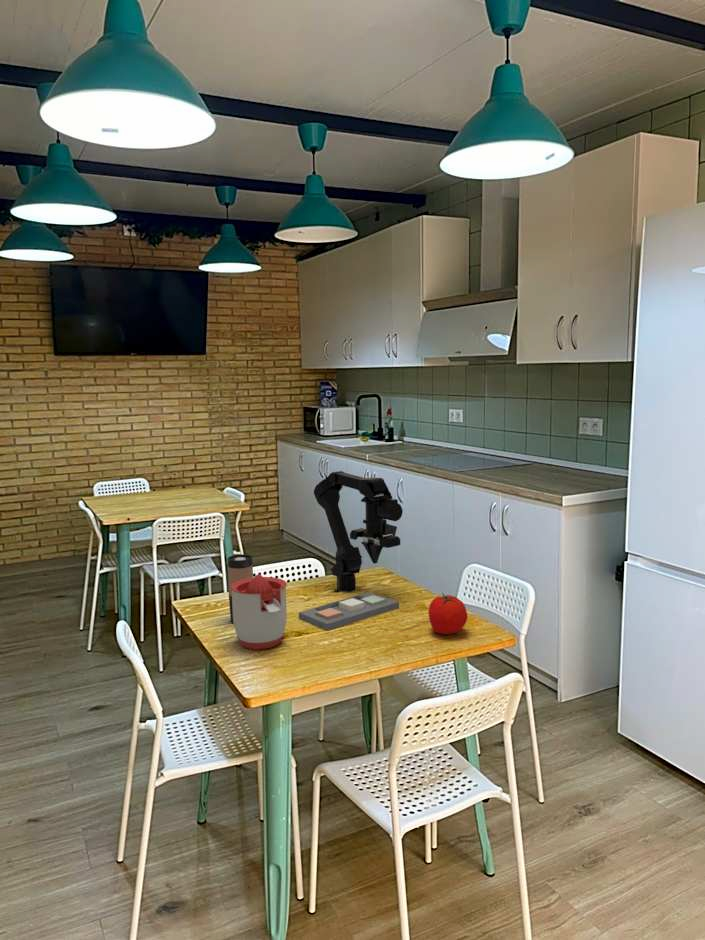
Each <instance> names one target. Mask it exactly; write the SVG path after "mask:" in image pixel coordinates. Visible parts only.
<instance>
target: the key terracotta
mask: <svg viewBox="0 0 705 940" xmlns="http://www.w3.org/2000/svg"><path fill="white" fill-rule="evenodd" d="M316 615H317V616H319V617H322V618H324V619H327V620H328V619H332V618H335V617H338V616H342V612H340V611H338V610H335V609H332V608H328V609H325V610H321V611H318V612H316Z"/></svg>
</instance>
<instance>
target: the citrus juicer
mask: <svg viewBox="0 0 705 940" xmlns="http://www.w3.org/2000/svg"><path fill="white" fill-rule="evenodd" d="M287 586H288V584H287V581H286V580H284V579H282V578H279V577H271V576H263V575H261V574H260V573H258V574H256V575H255V576H253V578H247V579H242V580H239V581H237V582H235V583H233V584H232V585H231V589H232V608H233V623H234V624H233V623H232V624H233V626H234V627H233V628H234V631H235V633H236V637H237V640H238V641H239V644H240V645H241V646H242V647H244V648H246V649H250V650H252V651H258V650H266V649H270V648H273V647H276V646H278V645H280V644H281V642H282V640H283V637H284V636H285V630H286V627H287V620H288V619H287V618H288V617H287V616H288V614H287Z"/></svg>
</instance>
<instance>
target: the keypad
mask: <svg viewBox="0 0 705 940" xmlns="http://www.w3.org/2000/svg"><path fill="white" fill-rule="evenodd" d="M372 595H375V596H378V597H381V598H384V599H386V602H384V603H381V604H377V605H374V606H371V605H368V604H365V603H364V609H361V610H358V611H355V612H351V613H350V612H347V611H345V610H342V609H339V602H341V601H344V600H348V599H351V598H354V599H357V600H359V601H361V599H362V598H366V597H369V596H372ZM399 605H400V603H399V600H398V601H397V600H394V599H391V598H388V597H386V596H382V595H379V594H377V593H373V592H370V591H368V592H365V593H361V594H358V595H354V596H351V597H346V598H344V599H340V600H336V601H334V602H330V603H327V604H322V605H320V606H315V607H312V608H308V609H305V610H302V611H299V612H298V620H300V621H303V622H306V623H308V624H310V625H313V626H315V627H318V628H319V629H322V630H325V631H327V632H329V631H331V630H334V629H337V628H341V627H344V626H347V625H350V624H354V623H356V622H359V621H364V620H366V619H369V618H372V617H375V616H378V615H382V614H385V613H388V612H390V611H394V610H398V609H399V608H400V606H399ZM328 608H332V609H335V610H338V611H340V612H342V616H338V617H335V618H332V619H328V620H327V619H324V618H322V617H319V616H317V615H316V612H318V611H321V610H325V609H328Z"/></svg>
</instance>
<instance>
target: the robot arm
mask: <svg viewBox="0 0 705 940" xmlns="http://www.w3.org/2000/svg"><path fill="white" fill-rule="evenodd" d="M343 487H346V488H350V489H353V490H357V491H358V492H359V493H360V494H361V495H363V497H362V498H361V499H360V502H361V503H364V504H365V519H362V524H365V528H362V527H360V528H356V529H351V531H350V533H349V534H348V531H347V529H346V525H345V521H344V518H343V516H342V513H341V510H340V507H339V502H340V498H341V496H340V495H341V494H340V491H341V490H342V489H343ZM313 495H314V498H315V500H316V502H317V504H318V505H319V506H320V507H321V508H322V509H324V512H325V515H326V517H327V522H328V524H329V527H330V530H331V531H330V532H331V534H332V536H333V537H332V538H333V540H334V544H335V546H336V552H335V558H334V559H335V562H336V563H334V565H333V566H332V568H331V569H330V570H331V574H332V576H335V577H336V588H334V589H333V592H335V593H340V592H348V593H352V592H356V591H357V584H356V583H357V581H356V574H359V573H360V572H361V567H362V564H363V561H362V558H363V557H362V555H361V551H360V548H359V547H358V546H356V547H355V546H353V544H352V543H351V540H353V541H357V539H359V538H362V541H361V545H362V546H363V547H364V549H365V550H366V552H367V554H368V556H369V558H370V560H371V562H372V563H373V564H377V563H378V562H379V559H380V555H381V552H382V550H383V549H384V548H385V549H387V548H388V549H389V548H394V547H398V546H401V538H400V537H399V536H398V535H396V533H397V529H398V526H397V525H393V524H389V523H387V521H391V522H392V521H393V522H398V521H399V520H400V519H401V518H402V516H403V511H404V509H403V507H402V505H401V504H400V503H399V500H398V499H396V498H394V499H393V495H392V493H391V492H390V489H389V487H388V486H387V484H386V482H385V479H384V478H382V477H361V476H359V475H354V474H351V473H347V472H345V471H342V470H339V471H332V472H331V473H329V474H328V476H326V477H325V478H324V479H322V480H321V481H319V483H318V484H316V485H315V488H314V489H313Z"/></svg>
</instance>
